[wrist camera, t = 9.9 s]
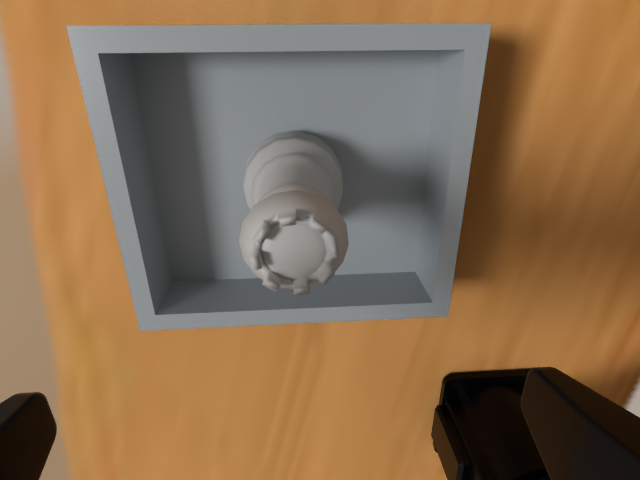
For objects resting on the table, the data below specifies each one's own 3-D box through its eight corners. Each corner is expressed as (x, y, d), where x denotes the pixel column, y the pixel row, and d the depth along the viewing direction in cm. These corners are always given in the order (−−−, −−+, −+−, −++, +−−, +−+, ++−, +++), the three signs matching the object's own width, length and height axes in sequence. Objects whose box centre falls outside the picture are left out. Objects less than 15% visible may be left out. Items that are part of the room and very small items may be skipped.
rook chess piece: (291, 241, 20) (291, 348, 12) (223, 175, 18) (177, 254, 11) (361, 181, 19) (406, 259, 11) (295, 106, 17) (298, 141, 10)
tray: (453, 29, 17) (491, 23, 14) (425, 278, 22) (448, 316, 19) (111, 32, 16) (66, 25, 13) (163, 289, 21) (140, 330, 18)
